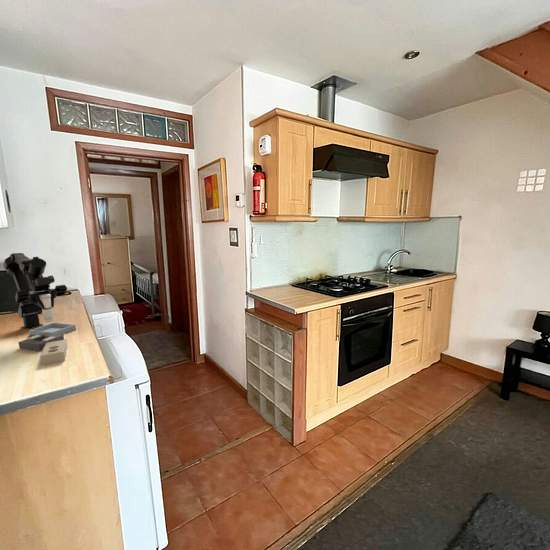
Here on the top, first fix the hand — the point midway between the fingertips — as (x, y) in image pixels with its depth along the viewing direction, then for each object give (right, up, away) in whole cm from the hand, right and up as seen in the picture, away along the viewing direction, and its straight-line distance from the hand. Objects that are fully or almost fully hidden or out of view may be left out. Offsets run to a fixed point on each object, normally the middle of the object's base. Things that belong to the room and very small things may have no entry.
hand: (48, 307), depth 135 cm
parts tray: (-5, -13, +10) cm, 17 cm away
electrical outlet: (+15, -18, -16) cm, 28 cm away
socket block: (+2, -16, -6) cm, 17 cm away
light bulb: (-1, -6, +2) cm, 7 cm away
